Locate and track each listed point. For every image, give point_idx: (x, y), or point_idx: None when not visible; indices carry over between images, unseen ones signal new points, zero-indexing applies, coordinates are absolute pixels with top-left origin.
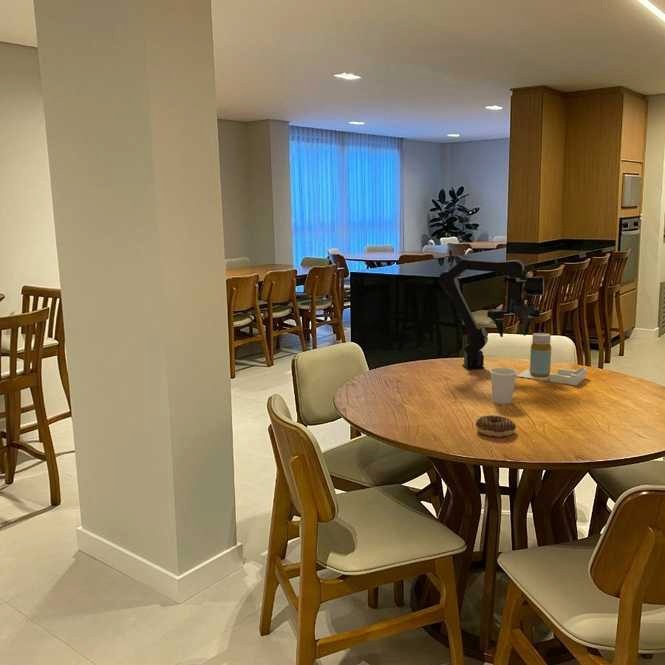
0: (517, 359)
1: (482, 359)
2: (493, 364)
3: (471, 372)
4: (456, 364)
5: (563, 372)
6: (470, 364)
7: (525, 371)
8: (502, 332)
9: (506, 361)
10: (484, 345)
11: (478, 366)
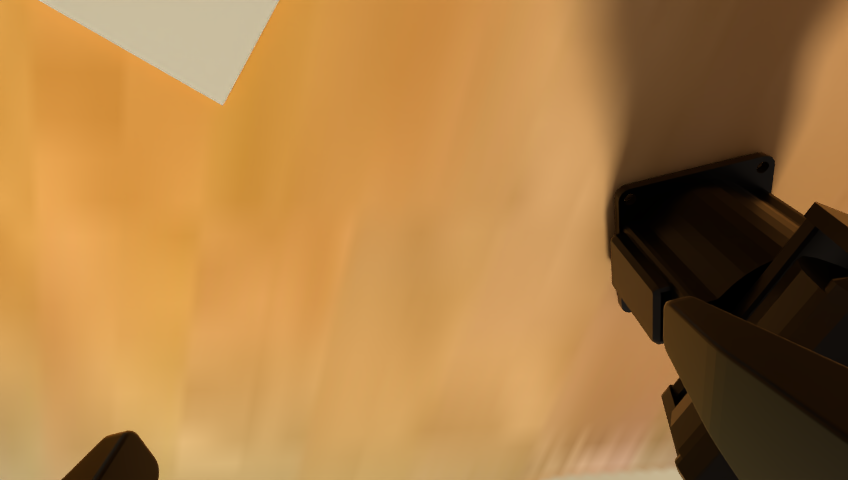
0: (257, 460)
1: (653, 258)
2: (483, 323)
3: (793, 43)
4: None
5: None
6: (758, 199)
7: (244, 20)
8: (755, 354)
9: (354, 408)
10: (805, 274)
11: (675, 194)
